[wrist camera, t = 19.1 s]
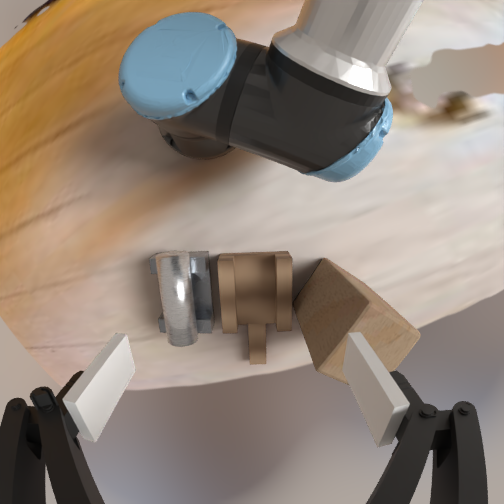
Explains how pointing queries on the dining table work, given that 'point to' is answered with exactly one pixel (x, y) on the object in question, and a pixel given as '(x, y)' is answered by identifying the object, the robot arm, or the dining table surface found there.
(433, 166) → the dining table surface
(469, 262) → the dining table surface
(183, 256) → the axle
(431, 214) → the dining table surface
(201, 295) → the v block
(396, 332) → the wooden block
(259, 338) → the wooden clevis bracket
